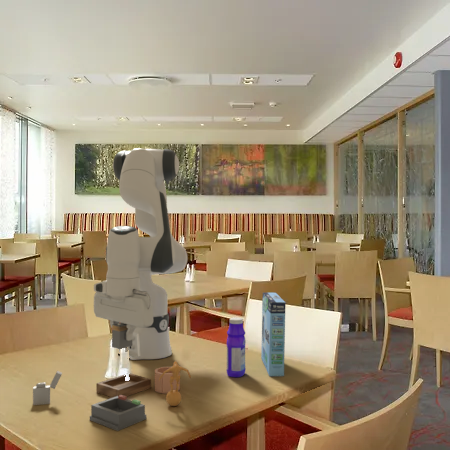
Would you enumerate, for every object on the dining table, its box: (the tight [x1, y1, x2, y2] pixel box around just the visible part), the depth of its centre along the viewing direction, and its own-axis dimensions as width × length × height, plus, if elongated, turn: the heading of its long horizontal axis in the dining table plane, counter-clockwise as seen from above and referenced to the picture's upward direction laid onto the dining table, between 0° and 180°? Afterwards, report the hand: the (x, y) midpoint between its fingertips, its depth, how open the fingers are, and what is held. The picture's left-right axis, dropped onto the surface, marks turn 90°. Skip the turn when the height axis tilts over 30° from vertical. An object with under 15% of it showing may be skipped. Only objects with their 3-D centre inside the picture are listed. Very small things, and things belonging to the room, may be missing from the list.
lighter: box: [32, 370, 63, 406], centre depth 137 cm, size 7×2×8 cm, turn 105°
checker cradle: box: [89, 395, 147, 432], centre depth 126 cm, size 10×9×4 cm
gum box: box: [260, 292, 287, 378], centre depth 169 cm, size 20×5×23 cm, turn 3°
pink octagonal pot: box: [154, 366, 181, 395], centre depth 148 cm, size 7×7×5 cm
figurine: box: [159, 360, 192, 407], centre depth 134 cm, size 8×6×12 cm
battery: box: [111, 322, 132, 349], centre depth 141 cm, size 3×4×6 cm, turn 142°
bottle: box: [226, 316, 247, 378], centre depth 162 cm, size 7×6×17 cm
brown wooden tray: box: [95, 372, 152, 398], centre depth 147 cm, size 9×12×2 cm
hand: (122, 338), depth 141 cm, fingers closed on battery, 3 cm apart
